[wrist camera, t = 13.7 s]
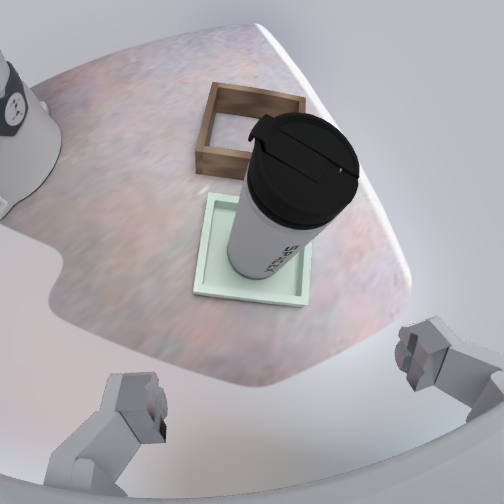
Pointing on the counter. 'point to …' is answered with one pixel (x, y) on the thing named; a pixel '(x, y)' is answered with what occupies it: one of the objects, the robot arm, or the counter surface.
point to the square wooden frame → (243, 104)
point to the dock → (233, 284)
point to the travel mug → (289, 191)
